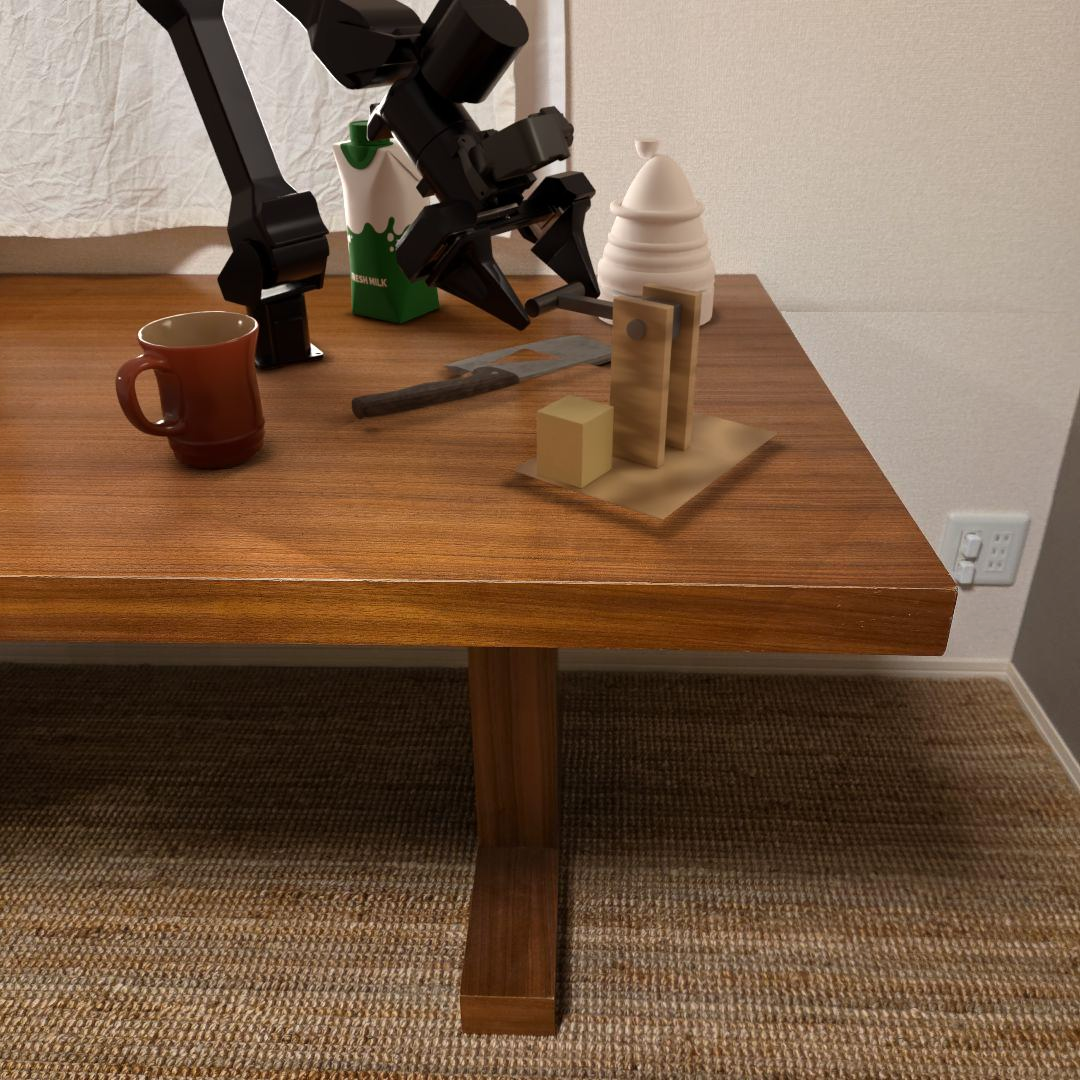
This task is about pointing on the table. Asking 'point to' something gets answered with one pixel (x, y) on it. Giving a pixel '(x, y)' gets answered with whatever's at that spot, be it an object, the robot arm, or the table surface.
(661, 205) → the honey pot
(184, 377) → the mug
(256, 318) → the robot arm
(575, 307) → the dark grey t-shaped bar
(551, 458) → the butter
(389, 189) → the milk carton
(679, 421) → the wooden stand
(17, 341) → the table surface
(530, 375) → the cleaver
